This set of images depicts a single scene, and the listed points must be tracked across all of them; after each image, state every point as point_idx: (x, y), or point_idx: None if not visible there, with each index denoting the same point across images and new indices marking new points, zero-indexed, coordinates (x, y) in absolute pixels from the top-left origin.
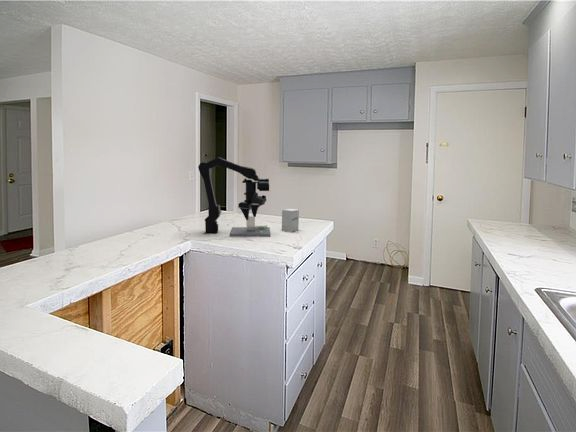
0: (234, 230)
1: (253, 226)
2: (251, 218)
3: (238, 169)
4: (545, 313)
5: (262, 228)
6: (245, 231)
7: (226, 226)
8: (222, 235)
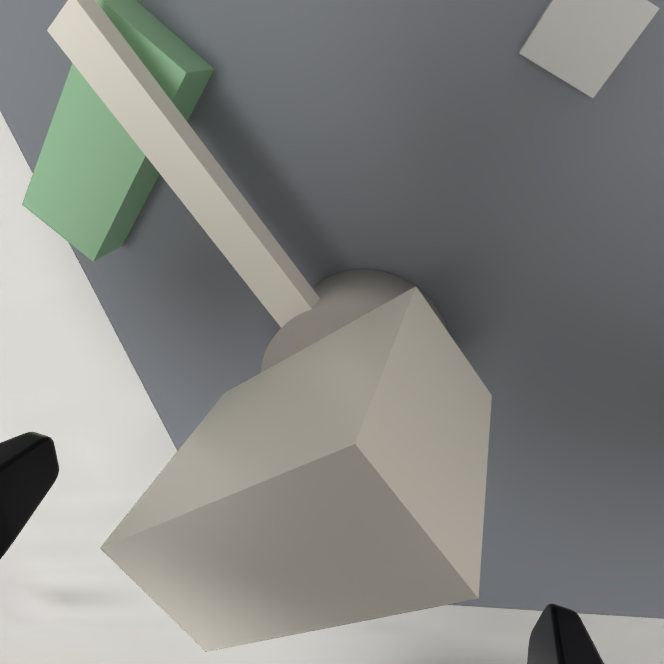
0: None
1: (435, 322)
2: (439, 541)
3: None
4: None
5: None
6: None
7: (147, 609)
8: (637, 652)
